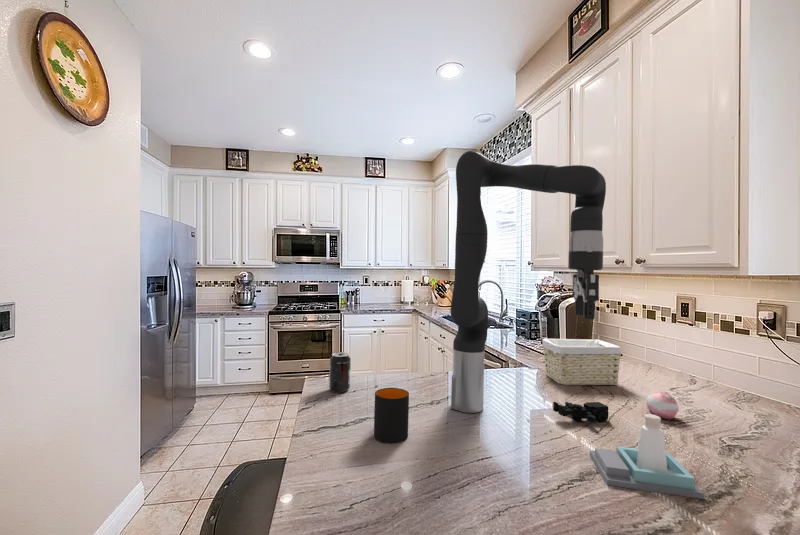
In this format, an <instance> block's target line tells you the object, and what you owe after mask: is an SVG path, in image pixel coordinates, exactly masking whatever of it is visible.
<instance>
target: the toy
mask: <svg viewBox="0 0 800 535" xmlns="http://www.w3.org/2000/svg"><path fill="white" fill-rule="evenodd" d="M552 405H553V406H552V411H553V412H555V413H557V414H558V415H560V416H562V417H568V416H571V419H572V420H574V421H575V422H576V423H582V420H584V419H586V421H588V422H592V423H593V424H595V423H604V422H607V421H608V420H609V414H610V413H609V406H608V405H606V404H604V403H603V402H600V401H592V402H591V401H590V402H589V401H588V402H585V403H583V405H581V404H577V403H572V402H569V401H564V405H562V404H559V403H558V402H557V401H553V404H552Z"/></svg>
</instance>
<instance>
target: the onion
mask: <svg viewBox="0 0 800 535" xmlns="http://www.w3.org/2000/svg"><path fill="white" fill-rule="evenodd" d="M645 401H646V406H647V407H646V408H647V409H648V412H646V414H653V415H656V416H658V417H660V418H661V420H662V419H664V420H673V419H674V418H675V417H676V416H677V414H678V412H679V404H678V401H677V400H676V398H675V397H673V396H672V395H671V394H670V393H668V392H667V391H664V392H663V391H657V392H654V393H651V394H650V395H649V396H647V397H646V400H645Z"/></svg>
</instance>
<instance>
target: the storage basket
mask: <svg viewBox="0 0 800 535" xmlns="http://www.w3.org/2000/svg"><path fill="white" fill-rule="evenodd" d="M541 340H542V348H543V357H544V368H545V375H546V376H547V377H549V378H550V379H552V380H553V381H555V382H556V383H558V384H559V385H564V386H571V385H572V386H600V385H601V386H608V385H609V386H615V385H616V386H617V385H618V382H619V373H620V372H619V370H620V362H621V360H620V359H621V357H622V356H621V355H622V347H621V346H620V345H616V344H613V343H611V342H608V341H607V342H606V341H605V340H601V339H597V338H596V339H585V338H584V339H580V338H575V339H574V338H569V339H568V338H546V337H545V338H542V339H541Z"/></svg>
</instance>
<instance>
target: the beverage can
mask: <svg viewBox="0 0 800 535" xmlns="http://www.w3.org/2000/svg"><path fill="white" fill-rule="evenodd" d="M351 361H352V359H351V356H350V353H349V352H344V351H342V352H341V351H338V352H333V353H331V357H330V358H329V376H328V377H329V378H328V380H329V381H328V382H329V383H328V384H329V385H328V387H329V390H330V391H332V392H333V393H336V394H337V393H339V394H340V393H346V392H347V391H348V390H349V389H350V388H351V367H352V366H351V365H352V364H351Z"/></svg>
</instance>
